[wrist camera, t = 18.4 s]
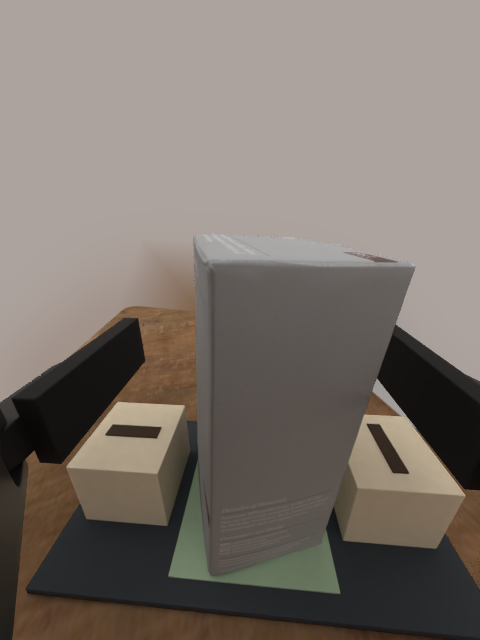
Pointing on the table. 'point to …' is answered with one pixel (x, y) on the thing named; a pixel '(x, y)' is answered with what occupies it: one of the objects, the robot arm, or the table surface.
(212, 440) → the cosmetic box
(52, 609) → the table surface
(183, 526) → the dark base board
